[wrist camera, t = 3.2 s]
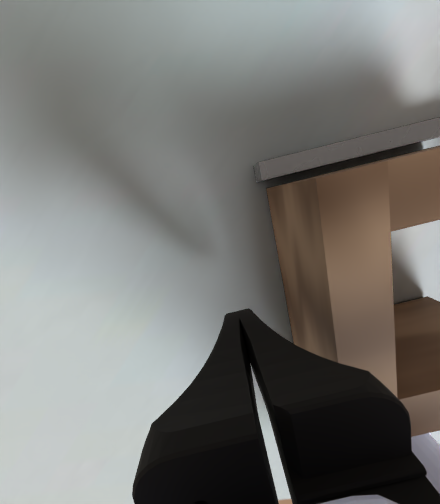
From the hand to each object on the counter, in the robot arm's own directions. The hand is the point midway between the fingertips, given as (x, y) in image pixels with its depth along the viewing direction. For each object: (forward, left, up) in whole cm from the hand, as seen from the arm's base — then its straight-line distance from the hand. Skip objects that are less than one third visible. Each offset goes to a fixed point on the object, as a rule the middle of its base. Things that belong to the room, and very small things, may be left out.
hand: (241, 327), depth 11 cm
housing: (0, -9, -4) cm, 10 cm away
